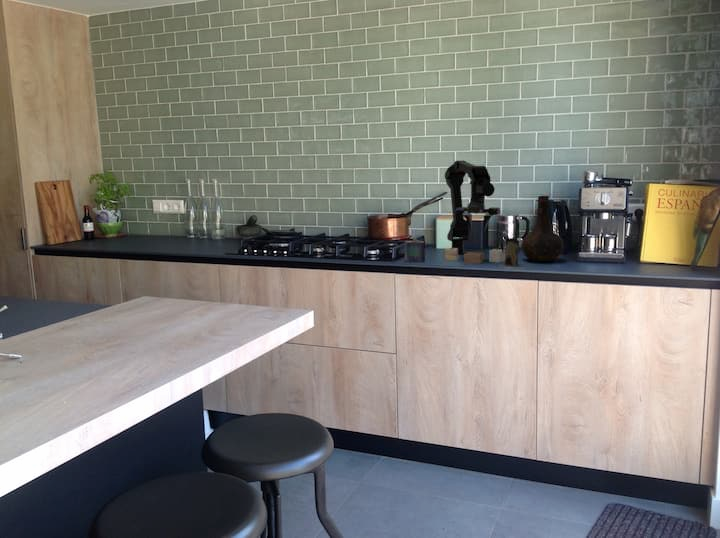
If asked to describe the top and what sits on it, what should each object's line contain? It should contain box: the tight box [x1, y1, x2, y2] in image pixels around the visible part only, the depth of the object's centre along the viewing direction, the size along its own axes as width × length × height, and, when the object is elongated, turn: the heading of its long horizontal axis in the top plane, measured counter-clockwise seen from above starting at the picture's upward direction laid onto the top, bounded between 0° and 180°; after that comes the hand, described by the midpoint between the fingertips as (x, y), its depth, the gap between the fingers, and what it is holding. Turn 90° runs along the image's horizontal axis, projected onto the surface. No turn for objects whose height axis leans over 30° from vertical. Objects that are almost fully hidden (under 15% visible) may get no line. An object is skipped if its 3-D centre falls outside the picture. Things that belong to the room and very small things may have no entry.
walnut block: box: [463, 251, 485, 265], centre depth 291 cm, size 7×7×4 cm
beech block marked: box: [444, 247, 459, 262], centre depth 299 cm, size 5×5×5 cm
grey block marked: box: [488, 248, 506, 264], centre depth 292 cm, size 5×5×5 cm
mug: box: [500, 235, 519, 267], centre depth 281 cm, size 8×6×12 cm
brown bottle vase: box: [521, 195, 565, 263], centre depth 288 cm, size 18×18×28 cm
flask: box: [404, 237, 426, 263], centre depth 296 cm, size 9×3×11 cm, turn 65°
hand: (477, 230), depth 295 cm, fingers open, 6 cm apart
